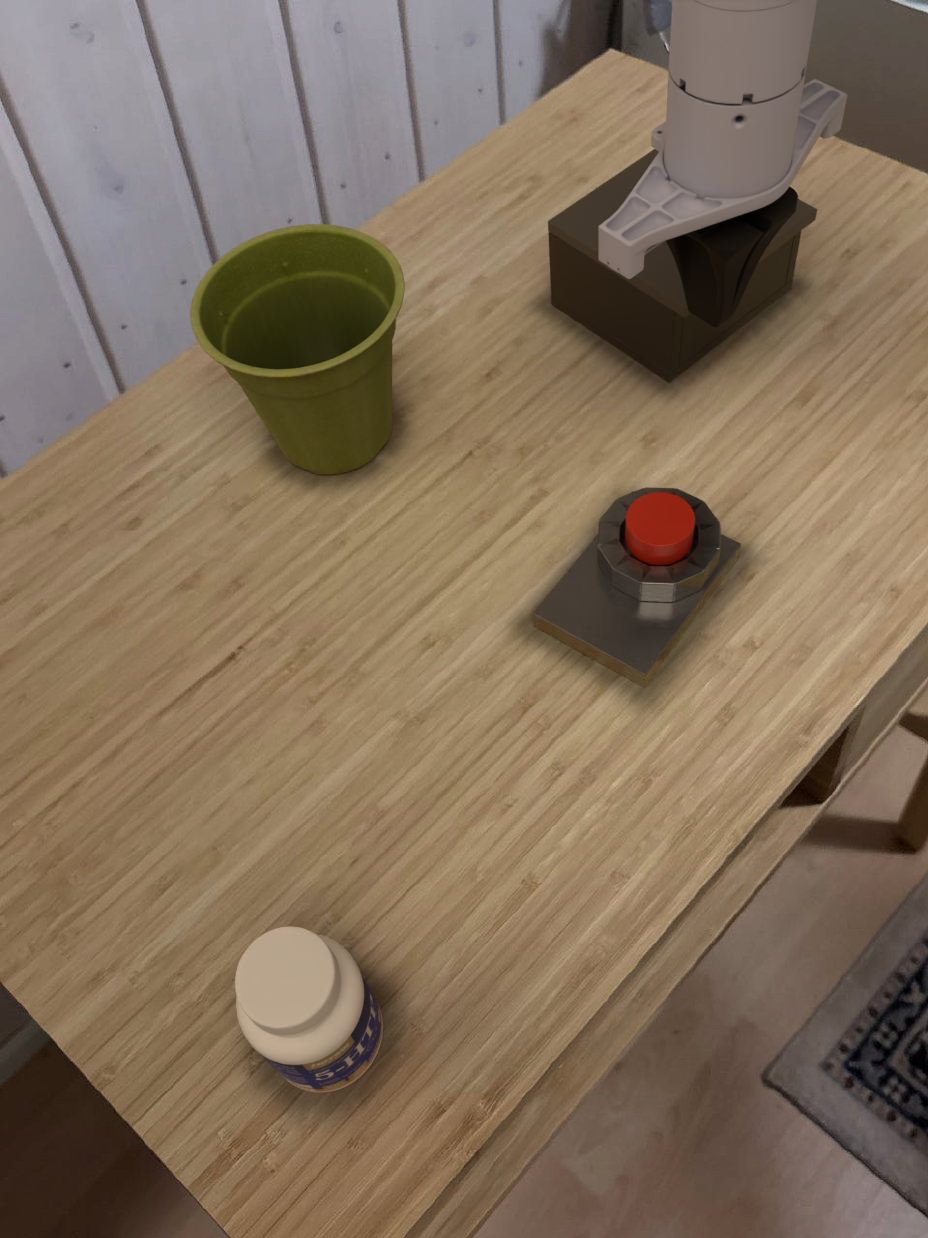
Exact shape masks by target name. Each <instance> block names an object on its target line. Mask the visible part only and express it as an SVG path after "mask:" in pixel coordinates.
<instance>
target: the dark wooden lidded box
mask: <svg viewBox="0 0 928 1238" xmlns="http://www.w3.org/2000/svg"><path fill="white" fill-rule="evenodd" d="M802 231H803V230H801V231H800V232H799V233H797V234H796V235H795V236H793V237H792V238H791V239H789V240H788V241H787V242H785V243H784V244H783V245H781V246H780V247H779V248H777V249H776V250H775V251H773V252H772V253H771V254H769V255H768V256H767V257H765V258H764V259H763V260H761V261H760V262H759V263H758V264H757V266H756V268H755V270H754V272H753V274H752V276H751V278H750V280H749V283H748V285H747V287H746V289H745V292H744V294H743V296H742V298H741V300H740V303H739V305H738V307H737V309H736V311H735V312H734V314H733V316H731V317H730V318H729V319H727V320H726V321H725V322H723V323H722V324H721V325H719V326H718V327H713V326H711V325H709V324H708V323H706V322H705V321H703V320H702V319H700V318H698V317H697V316H695V315H694V314H692V313H691V314H690V315H688V316H687V317H686V318H684V317H683V316H681V315H679V314H678V313H676V312H675V311H673V310H672V309H670V308H668V307H667V306H665V305H664V304H662V303H661V302H659V301H657V300H656V299H654V298H653V297H651V296H649V295H648V294H646V293H645V292H643V291H642V290H640V289H638V288H637V287H635V286H634V285H632V284H631V283H629V282H627V281H626V280H624V279H623V278H621V277H619V276H618V275H616V274H615V273H613V272H612V271H610V270H608V269H607V268H605V267H604V266H602V265H601V264H599V263H597V262H596V261H594V260H593V259H591V258H589V257H588V256H586V255H585V254H583V253H582V252H580V251H578V250H577V249H575V248H574V247H572V246H571V245H569V244H567V243H566V242H564V241H563V240H561V239H559V238H558V237H556V236H555V235H553V234H552V233H550V232H549V231H548V232H547V235H548V257H549V258H548V260H549V278H550V279H549V282H550V283H549V284H550V304H551V305H552V306H553V307H555V308H557V309H558V310H559V311H561V312H563V313H564V314H566V315H567V316H568V317H570V318H572V319H573V320H574V321H576V322H577V323H579V324H581V325H582V326H584V327H585V328H586V329H588V330H589V331H591V332H592V333H594V334H595V335H597V336H598V337H600V338H601V339H603V340H605V341H606V342H607V343H609V344H610V345H612V346H613V347H615V348H616V349H618V350H619V351H621V352H622V353H624V354H625V355H627V356H628V357H630V358H631V359H632V360H634V361H636V362H637V363H639V364H640V365H642V366H643V367H644V368H646V369H648V370H649V371H651V372H652V373H654V374H655V375H657V376H658V377H660V378H661V379H662V380H664V381H666V382H667V383H671V382H672V381H674V380H675V379H676V378H677V377H679V376H680V375H682V374H683V373H684V372H685V371H687V370H688V369H690V368H691V367H692V366H693V365H694V364H696V363H697V362H698V361H700V360H701V359H702V358H704V357H705V356H706V355H707V354H709V353H710V352H711V351H713V350H714V349H716V347H718V346H719V345H720V344H721V343H723V342H725V340H727V339H728V338H730V337H731V336H732V335H733V334H735V333H736V332H737V331H739V330H740V329H741V328H743V326H745V325H746V324H748V323H749V322H750V321H751V320H753V319H754V318H755V317H757V316H758V315H760V314H761V313H762V312H763V311H764V310H766V309H767V308H768V307H770V306H771V305H773V304H774V303H775V302H777V301H778V300H779V299H780V298H781V297H783V296H784V295H785V294H786V293H788V292H789V291H790V290H792V287H793V282H794V275H795V270H796V263H797V258H798V253H799V247H800V242H801V236H802Z"/></svg>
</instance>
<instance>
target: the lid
mask: <svg viewBox="0 0 928 1238" xmlns="http://www.w3.org/2000/svg"><path fill="white" fill-rule="evenodd" d="M658 153H659V151H657V150H655V149H654V148H653V149H652V150H651V151H649V152H647V153H646V154H645V155H643V156H641V157H640V158H638V159H637V160H636V161H634V162H633V163H631V164H629V165H628V166H627V167H626V168H623V170H621V171H619V172H618V173H617V174H615V175H613V176H612V177H611V178H609V179H608V180H606V181H605V182H603V183H602V184H600V185H599V186H598V187H595V189H593V190H592V191H590V192H588V193H586V194H585V196H582V197H581V198H579V199H578V200H577V201H575V202H574V203H572V204H571V205H569V206H567V208H565V209H563V210H562V211H560V212H558V213H557V214H556V215H555V216H553V217H552V218H550V219H549V220H548V221H547V232H548V233H549V232H550V233H552V234H553V235H555V236H556V237H558V238H559V239H561V240H563V241H564V242H566V243H567V244H569V245H571V246H572V247H574V248H575V249H577V250H578V251H580V252H582V253H583V254H585V255H586V256H588V257H589V258H591V259H593V260H594V261H596V262H597V263H599V264H601V265H602V266H604V267H605V268H607V269H608V270H610V271H612V272H613V273H615V274H616V275H618V276H619V277H621V278H623V279H624V280H626V281H627V282H629V283H631V284H632V285H634V286H635V287H637V288H638V289H640V290H642V291H643V292H645V293H646V294H648V295H649V296H651V297H653V298H654V299H656V300H657V301H659V302H661V303H662V304H664V305H665V306H667V307H668V308H670V309H672V310H673V311H675V312H676V313H678V314H679V315H681V316H683V317H684V318H686V317H687V316H688V315H690V314H691V312H689V311H688V307H687V303H686V298H685V294H684V289H683V285H682V281H681V278H680V274H679V271H678V268H677V265H676V262H675V260H674V257H673V255H672V253H671V250H670V248H669V246H668V244H667V243H666V241H664V242H662V243H661V244H660V245H658V246H657V247H655V248H654V249H653V250H651V251H650V252H648V253H647V254H645V256H644V269H643V270H642V271H641V272H639V273H638V274H637V275H635V276H634V277H632V278H631V279H627V278H626V277H624V276H623V275H621V274H620V273H617V272H616V271H614V270H612V269H611V268H609V267H608V266H607V265H605V264H604V263H602V262H601V261H599V260H598V259H599V225H601V224H602V223H603V222H605V221H606V220H607V219H609V218H610V217H611V216H612V215H613V214H614V213H615V212H616V211H617V210H618V209H619V208H620V206H621V205H622V204H623V203H624V201H625V200H626V198H627V197H628V196H629V194H630V193H631V191H632V190H633V188H634V187H635V186H636V184H637V183H638V181H639V180H640V178H641V177H642V176H643V174H644V173H645V171H646V170H647V168H648V167H649V166H650V164H651V163H652V161H653V160H654V158H655V157H656V156H657V154H658ZM817 213H818V209H817V208H816V207H814V206H812V205H810V204H808V203H807V202H805V201H803V200H801V199H799V198H798V201H797V207H796V212H795V213H794V214H793V215H792V216H791V217H790V218H789V219H788V220H787V221H786V223H785V224H784V225H783V226H782V227H781V229H780V230H779V231H778V232H777V234H776V235H775V236H774V238H773V239H772V241H771V242H770V244H769V245H768V247H767V248H766V250H765V251H764V253H763V255H762V257H761V258H760V260H759V262H760V261H761V260H763V259H764V258H765V257H767V256H768V255H769V254H771V253H772V252H773V251H775V250H776V249H777V248H779V247H780V246H781V245H783V244H784V243H785V242H787V241H788V240H789V239H791V238H792V237H793V236H795V235H796V234H797V233H799V232H800V231H801V230H802V231H804V229H806V228H807V227H808V226H809V225H811V224H812V223H813V222H815V221H816V220H817V219H816V218H817ZM802 231H801V232H802ZM759 262H758V263H759Z"/></svg>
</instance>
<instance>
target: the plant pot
mask: <svg viewBox="0 0 928 1238" xmlns="http://www.w3.org/2000/svg"><path fill="white" fill-rule="evenodd" d="M405 287H406V282H405V277H404V272H403V269H402V266H401V264H400V262H399V260H398V258H397V256H396V255H395V254H394V253H393V252H392V251H391V250H390V248H388V247H387V246H386V245H385V244H384V243H383V242H381V241H380V240H378V239H377V238H375V237H373V236H371V235H369V234H367V233H364V232H362V231H360V230H357V229H354V228H350V227H347V226H342V225H337V224H327V223H325V224H324V223H310V224H308V223H307V224H299V225H291V226H287V227H280V228H277V229H274V230H270V231H267V232H264V233H261V234H259V235H256V236H254V237H251V238H249V239H247V240H245V241H243V242H241V243H239V244H238V245H237V246H234V247H233V248H232V249H230V250H229V251H228V252H225V254H223V255H222V256H221V257H220V258H219V259H218V260H217V261H216V262H215V263H214V264H212V266H211V267H210V268H209V269H208V270H207V271H206V272H205V274H203V276H202V278H201V279H200V281H199V283H198V284H197V286H196V288H195V290H194V292H193V296H192V298H191V303H190V309H189V318H190V326H191V330H192V332H193V335H194V337H195V339H196V341H197V342H198V344H199V346H200V347H201V348H202V350H203V351H204V352H205V353H206V354H207V355H208V356H209V357H210V358H212V360H214V361H215V362H217V363H218V364H219V365H221V366H222V367H224V369H225V371H226V372H227V373H228V374H229V376H230V377H231V378H232V379H233V380H235V382H237V383H238V386H239V387H240V388H241V390H242V391H243V393H244V394H245V396H246V398H247V399H248V401H249V402H250V404H251V405H252V407H253V408H254V411H256V413H257V415H258V416H259V418H260V420H261V421H262V423H263V425H264V426H265V427H266V428H267V431H268V432H269V434H270V436H271V437H272V439H273V441H274V442H275V443H276V446H277V447H278V448H279V450H280V451H281V453H282V454H283V456H284V457H285V459H287V460H288V462H290V463H291V464H292V465H295V466H297V467H299V468H301V469H304V470H306V471H308V472H310V473H313V474H317V475H337V474H344V473H347V472H351V471H354V470H356V469H359V468H361V467H363V466H365V465H367V464H368V463H369V462H371V461H372V460H374V459H375V457H376V456H377V454H378V453H379V452H380V451H381V449H382V448H383V447H384V446H385V445H386V443H387V442H388V441H389V439H390V436H391V434H392V428H393V340H394V337H395V332H396V326H397V317H398V316H399V313H400V311H401V309H402V306H403V302H404V298H405V290H406V289H405Z"/></svg>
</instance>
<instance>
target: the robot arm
mask: <svg viewBox="0 0 928 1238" xmlns="http://www.w3.org/2000/svg"><path fill="white" fill-rule="evenodd" d="M817 4H818V0H672V1H671V21H670V38H669V55H668V74H667V93H666V94H667V95H666V113H665V122H663V123H661V124H660V125H658V126H657V127H656V128H654V129H653V130H652V131H651V138H650V146H651V147H652V149H653V150H654V149H655V150H657V151H659V153H658V154H657V156H656V157H655V158H654V160H653V161H652V163H651V164H650V166H649V167H648V168H647V170H646V171H645V173H644V174H643V176H642V177H641V178H640V180H639V181H638V183H637V184H636V186H635V187H634V188H633V190H632V191H631V193H630V194H629V196H628V197H627V198H626V200H625V201H624V203H623V204H622V205H621V206H620V208H619V209H618V210H617V211H616V212H615V213H614V214H613V215H612V216H611V217H610V218H609V219H607V220H606V221H605V222H603V223H602V224H601V225H599V259H598V260H599V261H601V262H602V263H604V264H605V265H607V266H608V267H609V268H611V269H612V270H614V271H616V272H617V273H620V274H621V275H623V276H624V277H626V278H627V279H631V278H632V277H634V276H635V275H637V274H638V273H639V272H641V271H642V270H643V269H644V256H645V254H647V253H648V252H650V251H651V250H653V249H654V248H655V247H657V246H658V245H660V244H661V243H662V242H664V241H666V243H667V244H668V246H669V248H670V250H671V253H672V255H673V257H674V260H675V262H676V265H677V268H678V271H679V274H680V278H681V281H682V285H683V289H684V294H685V298H686V303H687V307H688V311H689V312H691V313H692V314H694V315H695V316H697V317H698V318H700V319H702V320H703V321H705V322H706V323H708V324H709V325H711V326H713V327H718V326H719V325H721V324H722V323H723V322H725V321H726V320H727V319H729V318H730V317H731V316H733V314H734V312H735V311H736V309H737V307H738V305H739V303H740V300H741V298H742V296H743V294H744V292H745V289H746V287H747V285H748V283H749V280H750V278H751V276H752V274H753V272H754V270H755V268H756V266H757V264H758V262H759V260H760V258H761V257H762V255H763V253H764V251H765V250H766V248H767V247H768V245H769V244H770V242H771V241H772V239H773V238H774V236H775V235H776V234H777V232H778V231H779V230H780V229H781V227H782V226H783V225H784V224H785V223H786V221H787V220H788V219H789V218H790V217H791V216H792V215H793V214H794V213H795V212H796V207H797V201H798V199H799V194H798V192H797V191H796V189H794V187H792V186H791V185H792V183H793V181H794V180H795V178H796V176H797V175H798V173H799V172H800V171H801V168H802V166H803V165H804V163H805V162H806V160H807V158H808V156H809V155H810V153H811V151H812V150H813V148H814V146H815V145H816V144H817V142H818V140H819V138H822V139H825V140H826V139H829V138H831V137H833V136H835V135H836V134H837V133H838V132H840V131H841V130H842V125H843V120H844V114H845V109H846V104H847V101H848V93H846V92H844V91H841V90H839V89H837V88H835V87H833V86H832V85H829V84H827V83H825V82H822V81H820V80H818V79H817V78H813V79H812V80H811V81H809V82H807V83H805V79H806V74H807V66H808V60H809V53H810V48H811V47H810V46H811V43H812V42H811V41H812V35H813V29H814V24H815V17H816V10H817Z"/></svg>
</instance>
